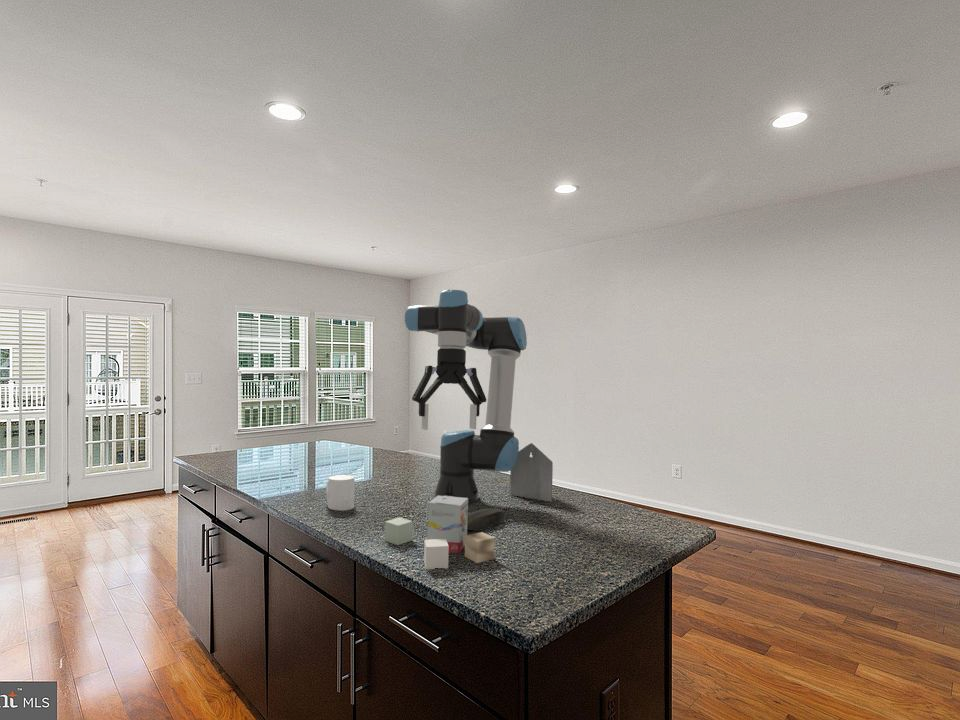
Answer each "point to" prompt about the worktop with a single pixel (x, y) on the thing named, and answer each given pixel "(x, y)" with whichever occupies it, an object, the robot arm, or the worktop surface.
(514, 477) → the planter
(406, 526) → the sage cube
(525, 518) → the worktop surface
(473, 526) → the decorative stone
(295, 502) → the worktop surface
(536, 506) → the worktop surface
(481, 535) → the maple cube
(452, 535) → the ink box
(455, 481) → the robot arm
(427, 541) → the off-white cube
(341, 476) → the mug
